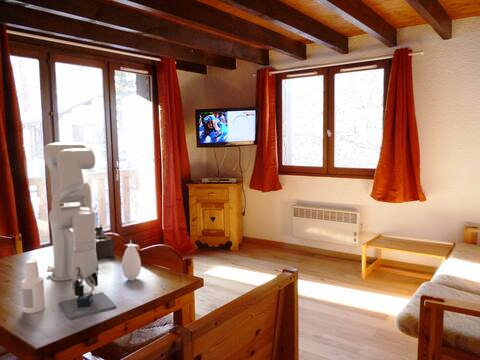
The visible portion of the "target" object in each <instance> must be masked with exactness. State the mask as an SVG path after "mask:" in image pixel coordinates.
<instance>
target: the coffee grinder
mask: <svg viewBox="0 0 480 360" xmlns="http://www.w3.org/2000/svg"><path fill="white" fill-rule="evenodd" d="M95 238H96V254H97V261H98V260H103V259H109V258H113V257H114V256H115V249H114V248H115V244H114V243H115V239H114V238H112V237H110V236H108V235H105V231H104V229H103V226H102V225H101V224H100V225H97V226H95Z"/></svg>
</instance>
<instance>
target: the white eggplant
mask: <svg viewBox="0 0 480 360" xmlns="http://www.w3.org/2000/svg"><path fill="white" fill-rule="evenodd" d="M141 268H142V262H141V257H140V254H139V252H138V250H137V248H136V247H135V245H134V244H132V239H130V240H129V244H128V245H127V248H126V249H125V251H124V254H123V256H122V262H121V269H122V273H123V276H124V277H125V278H126V279H127V280H128V281H134V280H135V279H137V278H138V277H139V275H140V273H141V271H142V270H141Z"/></svg>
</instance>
